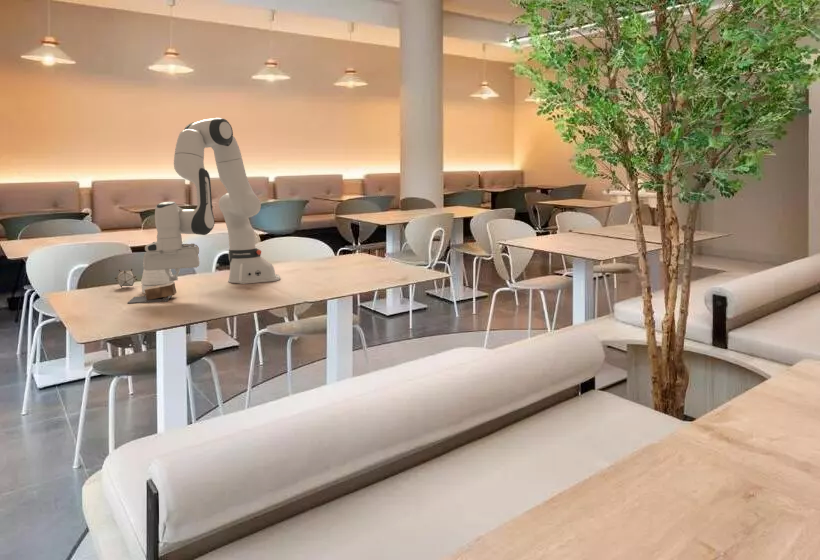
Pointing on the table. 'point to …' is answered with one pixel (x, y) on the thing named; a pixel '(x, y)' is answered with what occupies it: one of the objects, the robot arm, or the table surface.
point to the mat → (144, 300)
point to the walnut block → (160, 291)
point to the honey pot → (154, 278)
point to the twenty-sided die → (126, 278)
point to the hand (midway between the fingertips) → (173, 280)
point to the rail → (166, 298)
